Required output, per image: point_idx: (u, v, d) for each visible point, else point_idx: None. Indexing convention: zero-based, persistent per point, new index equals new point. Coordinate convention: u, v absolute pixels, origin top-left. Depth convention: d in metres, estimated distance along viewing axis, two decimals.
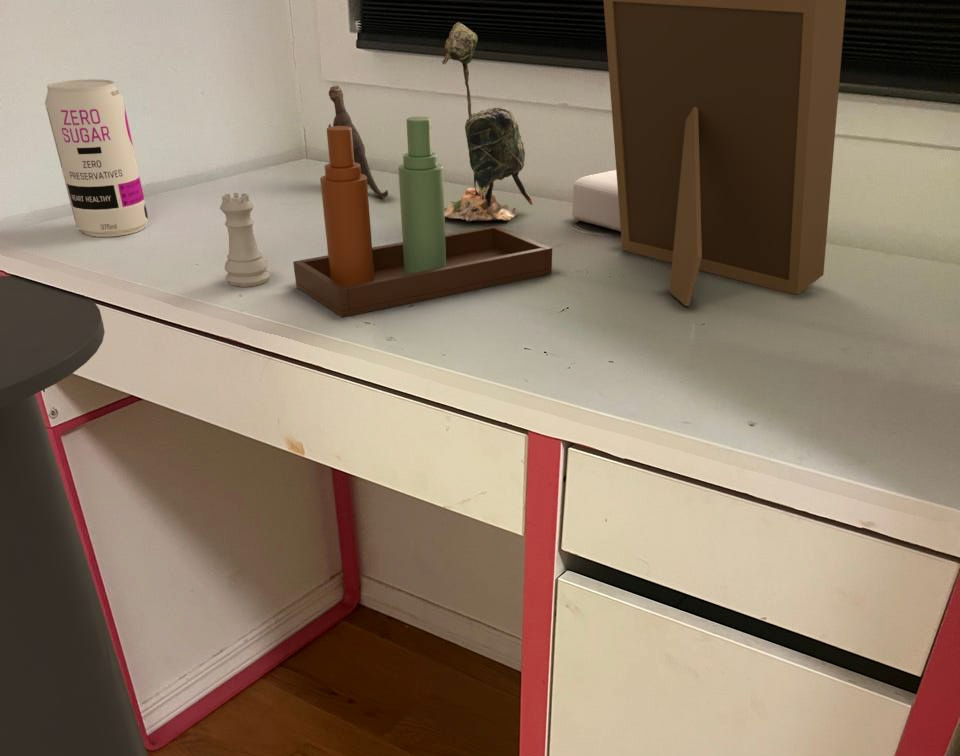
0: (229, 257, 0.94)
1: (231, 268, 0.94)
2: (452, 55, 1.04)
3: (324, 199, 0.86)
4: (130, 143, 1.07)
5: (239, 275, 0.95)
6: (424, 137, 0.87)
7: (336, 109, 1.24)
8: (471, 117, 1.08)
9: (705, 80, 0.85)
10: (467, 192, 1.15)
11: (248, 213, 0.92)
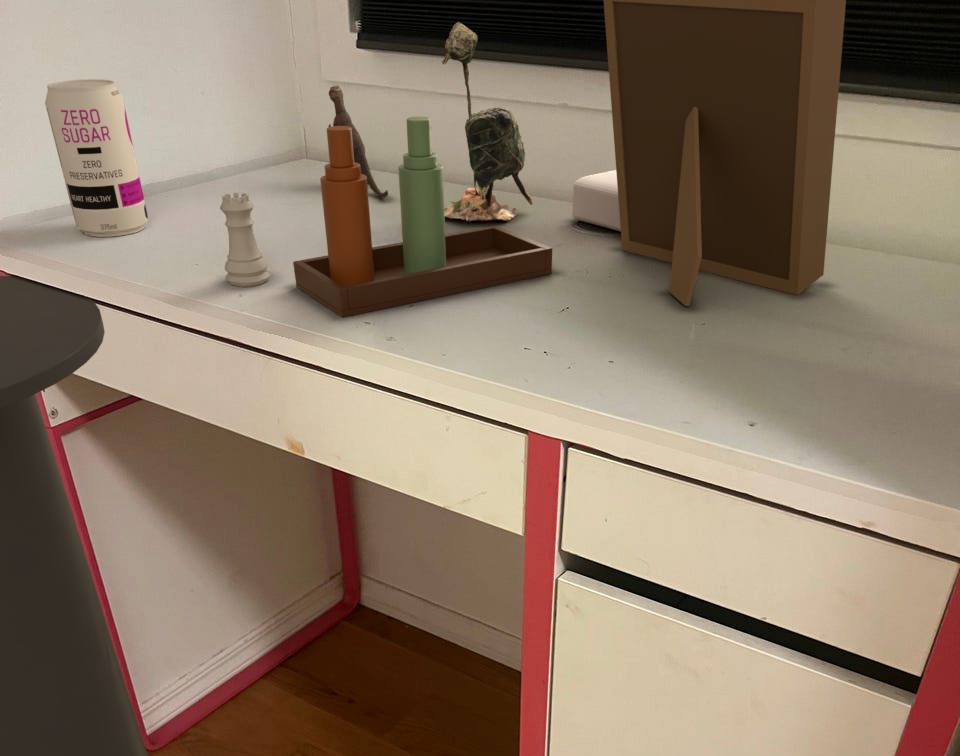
0: (229, 257, 0.94)
1: (231, 268, 0.94)
2: (452, 55, 1.04)
3: (324, 199, 0.86)
4: (130, 143, 1.07)
5: (239, 275, 0.95)
6: (424, 137, 0.87)
7: (336, 109, 1.24)
8: (471, 117, 1.08)
9: (705, 80, 0.85)
10: (467, 192, 1.15)
11: (248, 213, 0.92)
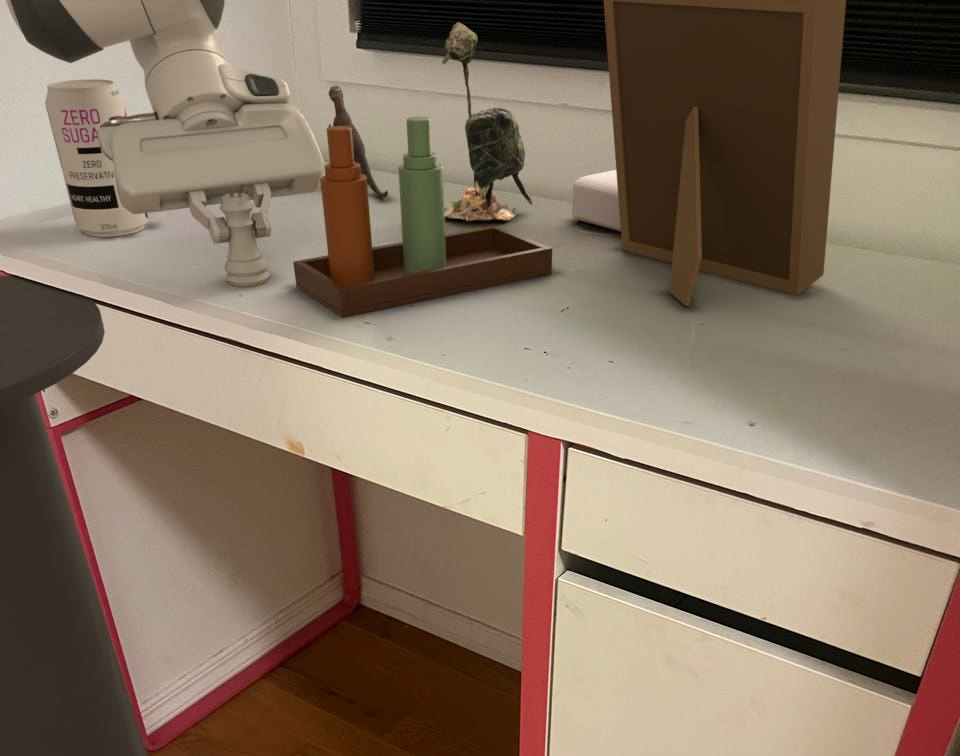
0: (229, 257, 0.94)
1: (231, 268, 0.94)
2: (452, 55, 1.04)
3: (324, 199, 0.86)
4: None
5: (239, 275, 0.95)
6: (424, 137, 0.87)
7: (336, 109, 1.24)
8: (471, 117, 1.08)
9: (706, 80, 0.85)
10: (467, 192, 1.15)
11: (248, 213, 0.92)
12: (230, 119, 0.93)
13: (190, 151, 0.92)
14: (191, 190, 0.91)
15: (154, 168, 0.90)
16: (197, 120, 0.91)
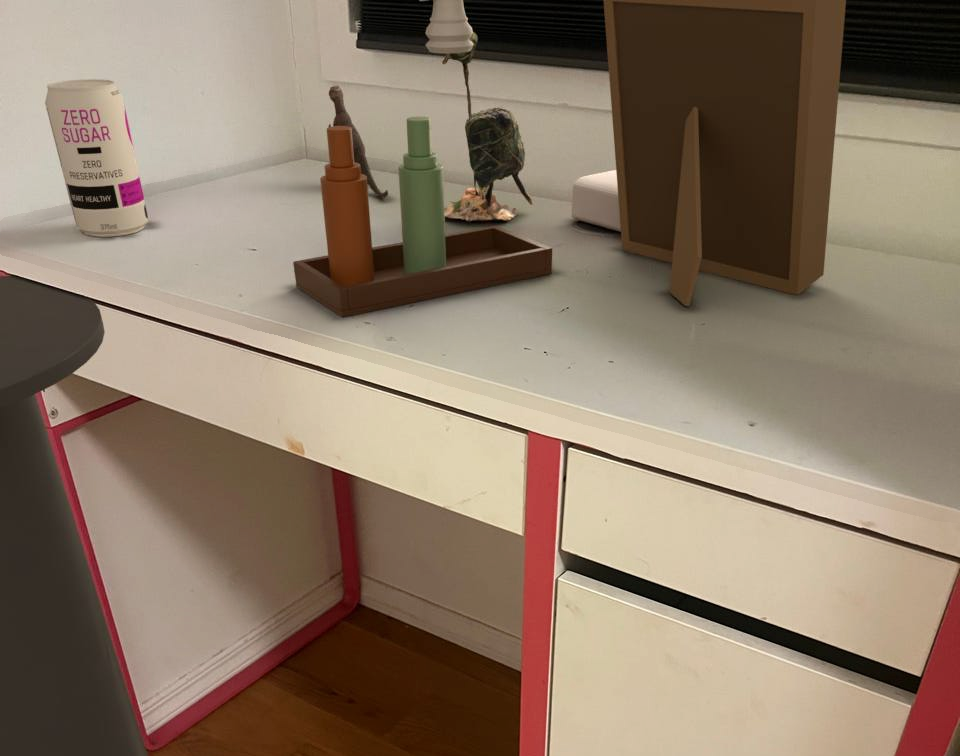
0: (433, 19, 0.85)
1: (436, 31, 0.85)
2: (452, 55, 1.04)
3: (324, 199, 0.86)
4: (130, 143, 1.07)
5: (444, 39, 0.85)
6: (424, 137, 0.87)
7: (336, 109, 1.24)
8: (471, 117, 1.08)
9: (705, 80, 0.85)
10: (467, 192, 1.15)
11: None
12: None
13: None
14: None
15: None
16: None
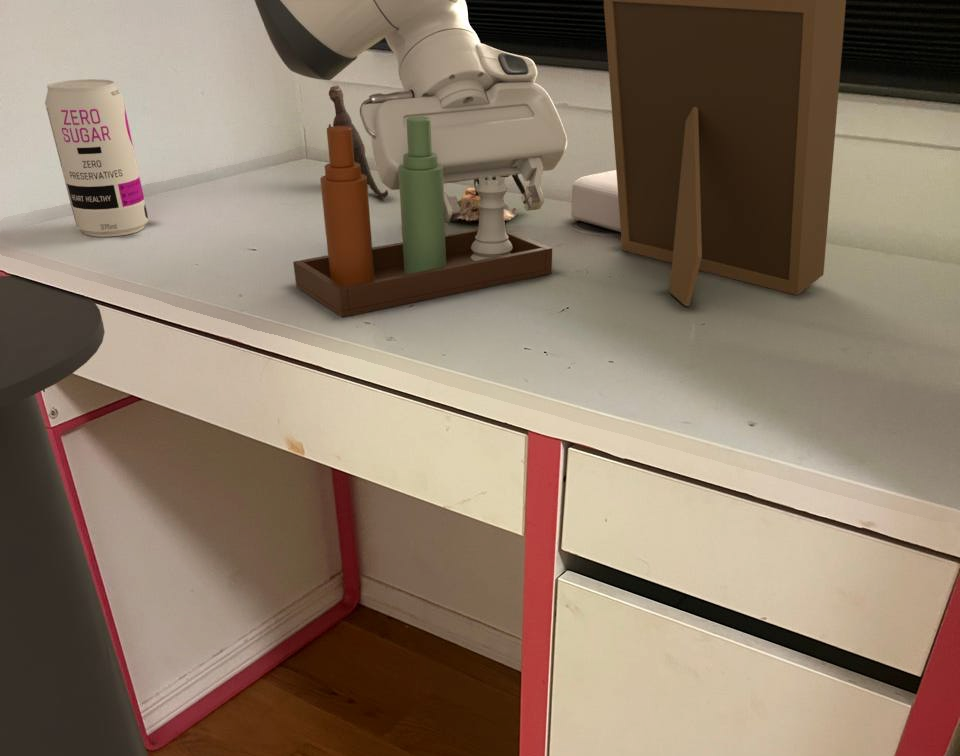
0: (479, 238, 0.97)
1: (481, 249, 0.97)
2: None
3: (324, 199, 0.86)
4: (130, 143, 1.07)
5: (488, 256, 0.97)
6: (424, 137, 0.87)
7: (336, 109, 1.24)
8: None
9: (705, 80, 0.85)
10: (467, 192, 1.15)
11: (503, 195, 0.95)
12: (484, 96, 0.95)
13: (448, 128, 0.94)
14: (450, 166, 0.93)
15: None
16: (456, 98, 0.93)
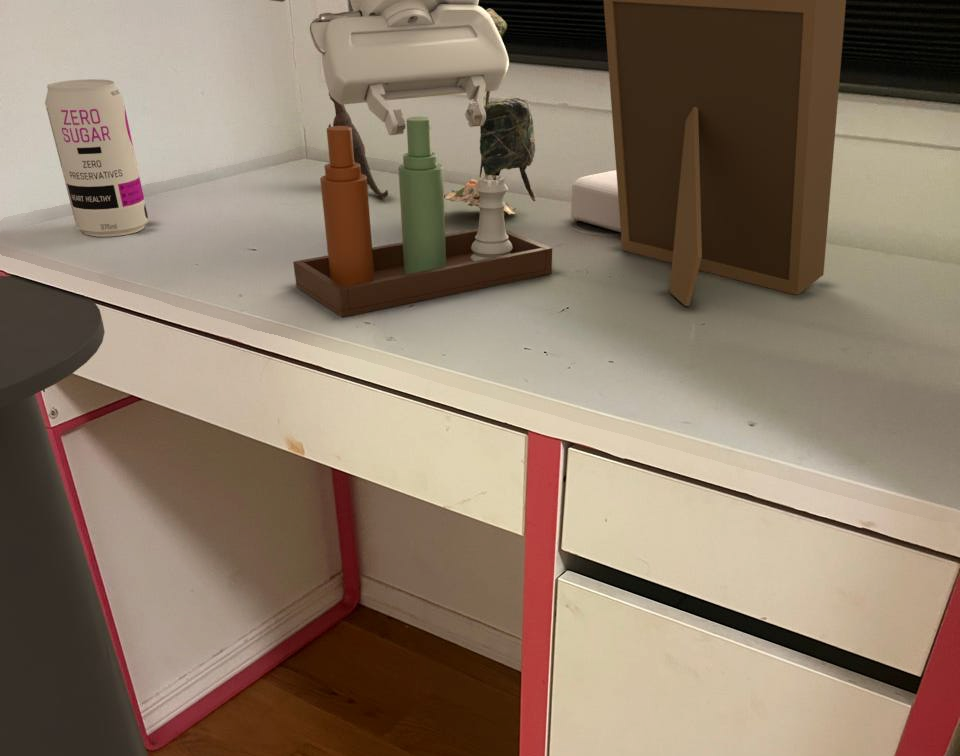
0: (479, 238, 0.97)
1: (481, 249, 0.97)
2: None
3: (324, 199, 0.86)
4: (130, 143, 1.07)
5: (488, 256, 0.97)
6: (424, 137, 0.87)
7: (336, 109, 1.24)
8: (488, 104, 1.08)
9: (705, 80, 0.85)
10: (471, 182, 1.14)
11: (503, 195, 0.95)
12: (428, 16, 1.00)
13: (394, 46, 0.99)
14: (395, 81, 0.99)
15: (363, 59, 0.98)
16: (401, 16, 0.99)
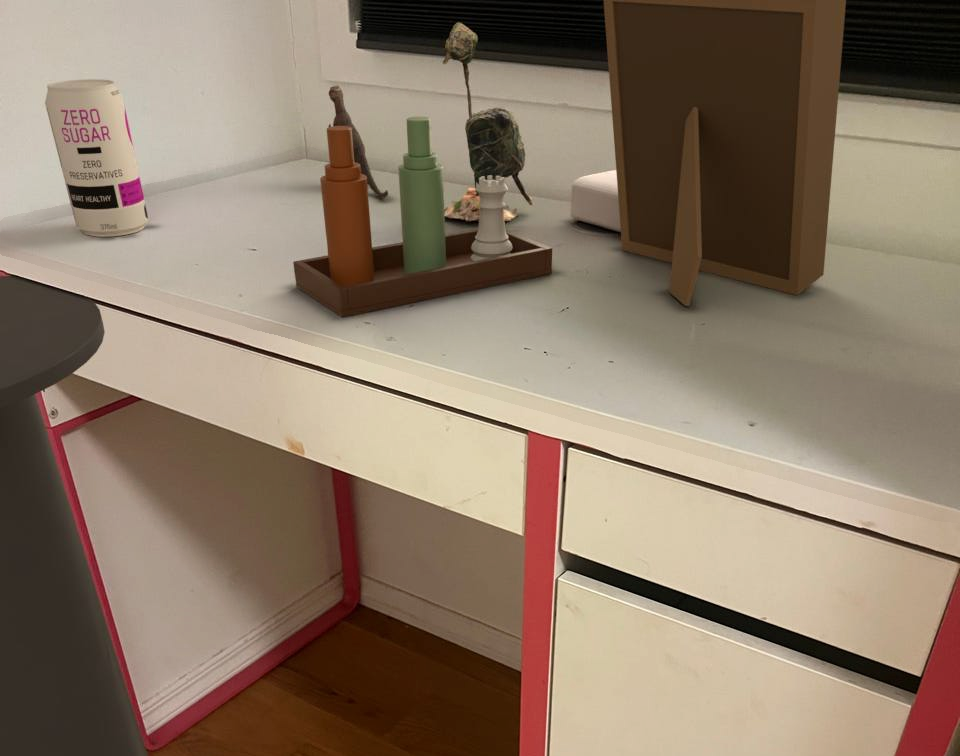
0: (479, 238, 0.97)
1: (481, 249, 0.97)
2: (452, 55, 1.04)
3: (324, 199, 0.86)
4: (130, 143, 1.07)
5: (488, 256, 0.97)
6: (424, 137, 0.87)
7: (336, 109, 1.24)
8: (471, 117, 1.08)
9: (705, 80, 0.85)
10: (468, 192, 1.15)
11: (503, 195, 0.95)
12: None
13: None
14: None
15: None
16: None
